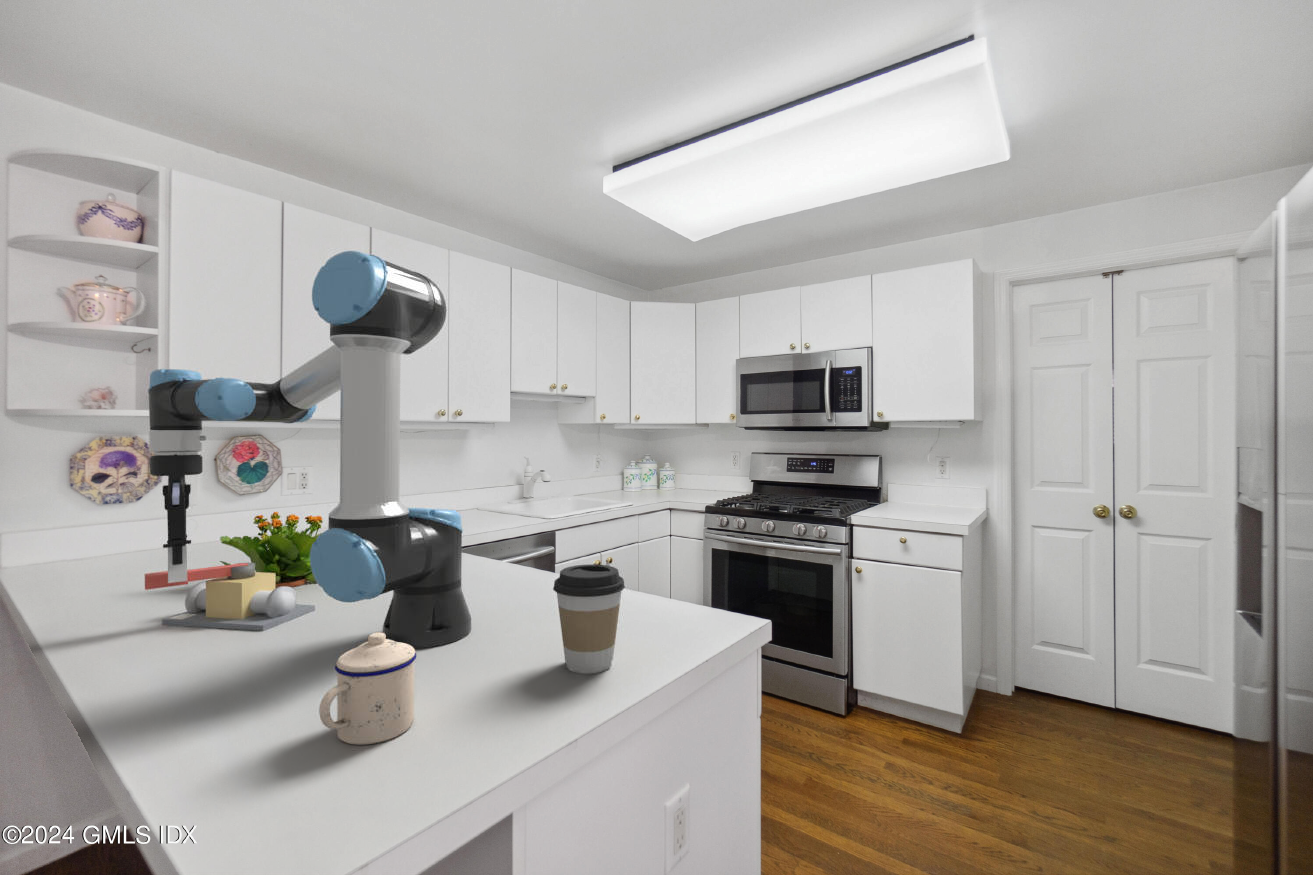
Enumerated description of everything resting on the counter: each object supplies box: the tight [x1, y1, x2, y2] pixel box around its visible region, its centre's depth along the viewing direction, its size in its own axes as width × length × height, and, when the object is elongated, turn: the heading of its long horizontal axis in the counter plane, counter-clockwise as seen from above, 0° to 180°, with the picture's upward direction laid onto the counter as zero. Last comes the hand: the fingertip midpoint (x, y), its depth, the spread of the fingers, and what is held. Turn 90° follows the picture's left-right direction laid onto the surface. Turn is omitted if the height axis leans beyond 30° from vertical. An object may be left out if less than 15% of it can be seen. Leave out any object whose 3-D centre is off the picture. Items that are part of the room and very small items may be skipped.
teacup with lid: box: [318, 632, 417, 746], centre depth 71 cm, size 12×9×12 cm
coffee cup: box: [552, 563, 626, 675], centre depth 92 cm, size 11×11×15 cm
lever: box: [144, 562, 256, 591], centre depth 112 cm, size 17×4×3 cm, turn 133°
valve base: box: [161, 571, 316, 632], centre depth 116 cm, size 22×13×8 cm, turn 81°
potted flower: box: [219, 511, 323, 588], centre depth 141 cm, size 25×24×18 cm
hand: (177, 581), depth 108 cm, fingers closed
